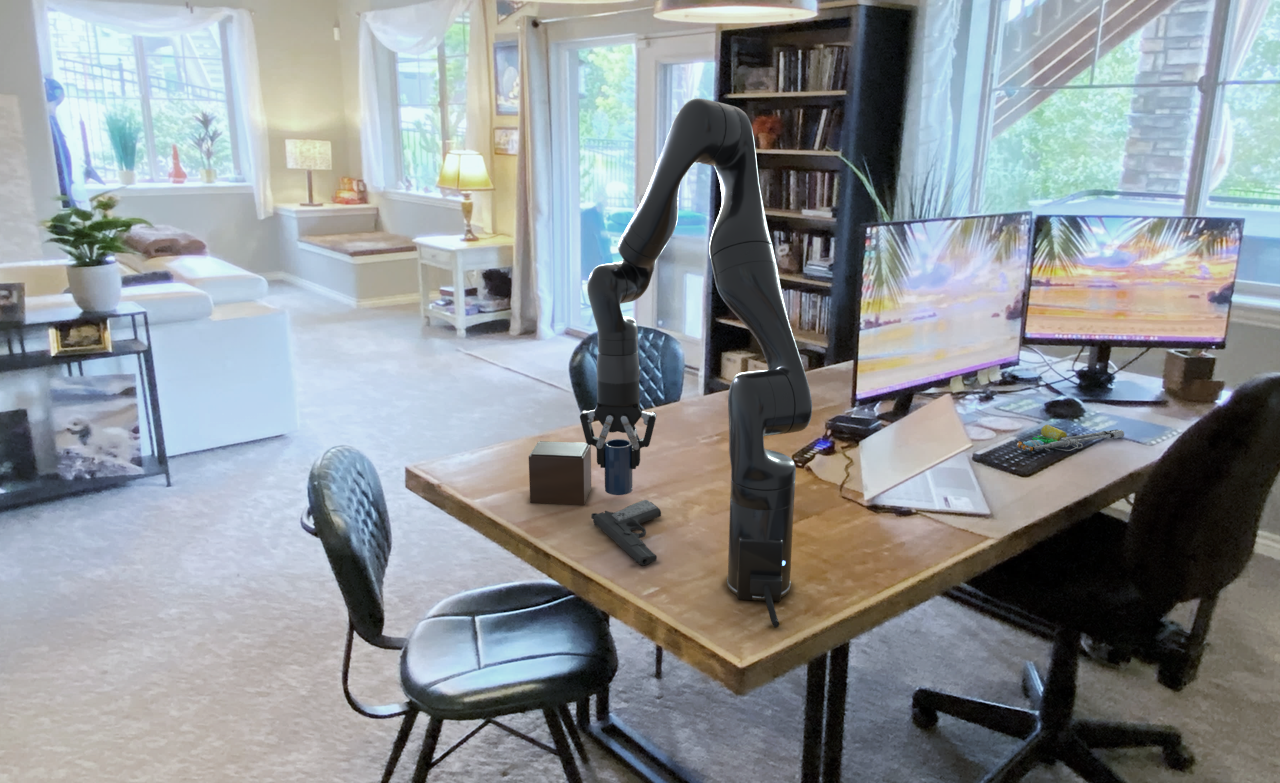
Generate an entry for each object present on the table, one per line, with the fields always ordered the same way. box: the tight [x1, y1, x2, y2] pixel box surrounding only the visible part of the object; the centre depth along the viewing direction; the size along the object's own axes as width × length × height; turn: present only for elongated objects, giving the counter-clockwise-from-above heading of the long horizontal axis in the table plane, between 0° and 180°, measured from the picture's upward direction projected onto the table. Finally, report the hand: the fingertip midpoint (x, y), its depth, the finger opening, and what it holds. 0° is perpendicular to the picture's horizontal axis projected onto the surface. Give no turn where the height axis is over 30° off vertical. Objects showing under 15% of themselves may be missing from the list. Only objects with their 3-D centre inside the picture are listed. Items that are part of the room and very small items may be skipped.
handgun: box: [590, 499, 662, 566], centre depth 154 cm, size 19×2×12 cm
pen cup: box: [604, 438, 634, 496], centre depth 167 cm, size 5×5×9 cm
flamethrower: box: [1016, 424, 1125, 452], centre depth 200 cm, size 29×3×10 cm
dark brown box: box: [528, 440, 592, 506], centre depth 170 cm, size 8×10×9 cm
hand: (618, 466), depth 167 cm, fingers closed on pen cup, 5 cm apart
